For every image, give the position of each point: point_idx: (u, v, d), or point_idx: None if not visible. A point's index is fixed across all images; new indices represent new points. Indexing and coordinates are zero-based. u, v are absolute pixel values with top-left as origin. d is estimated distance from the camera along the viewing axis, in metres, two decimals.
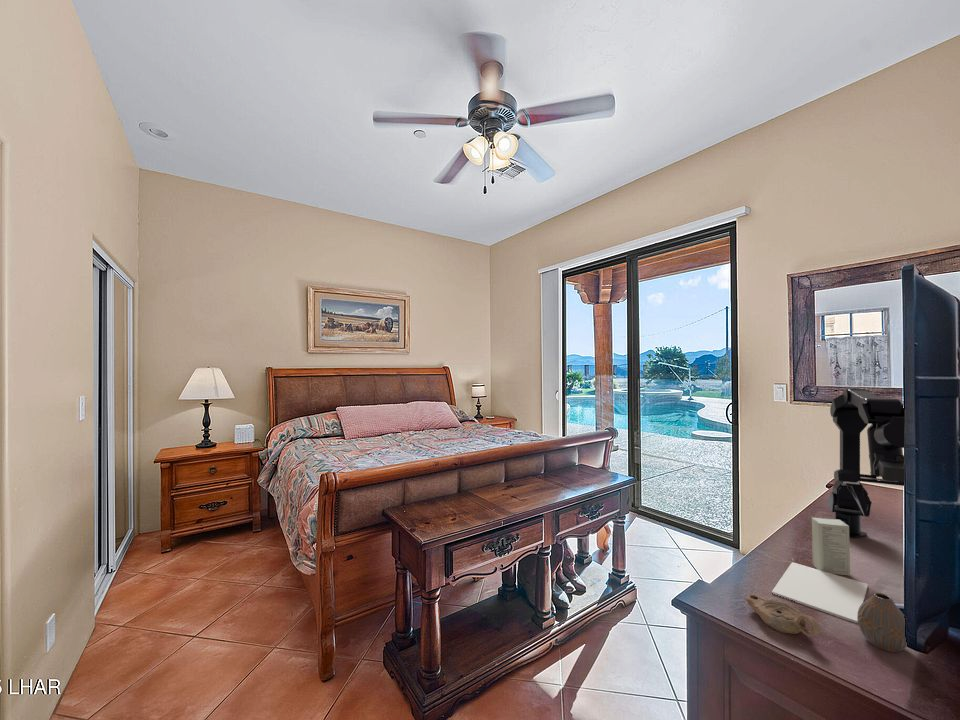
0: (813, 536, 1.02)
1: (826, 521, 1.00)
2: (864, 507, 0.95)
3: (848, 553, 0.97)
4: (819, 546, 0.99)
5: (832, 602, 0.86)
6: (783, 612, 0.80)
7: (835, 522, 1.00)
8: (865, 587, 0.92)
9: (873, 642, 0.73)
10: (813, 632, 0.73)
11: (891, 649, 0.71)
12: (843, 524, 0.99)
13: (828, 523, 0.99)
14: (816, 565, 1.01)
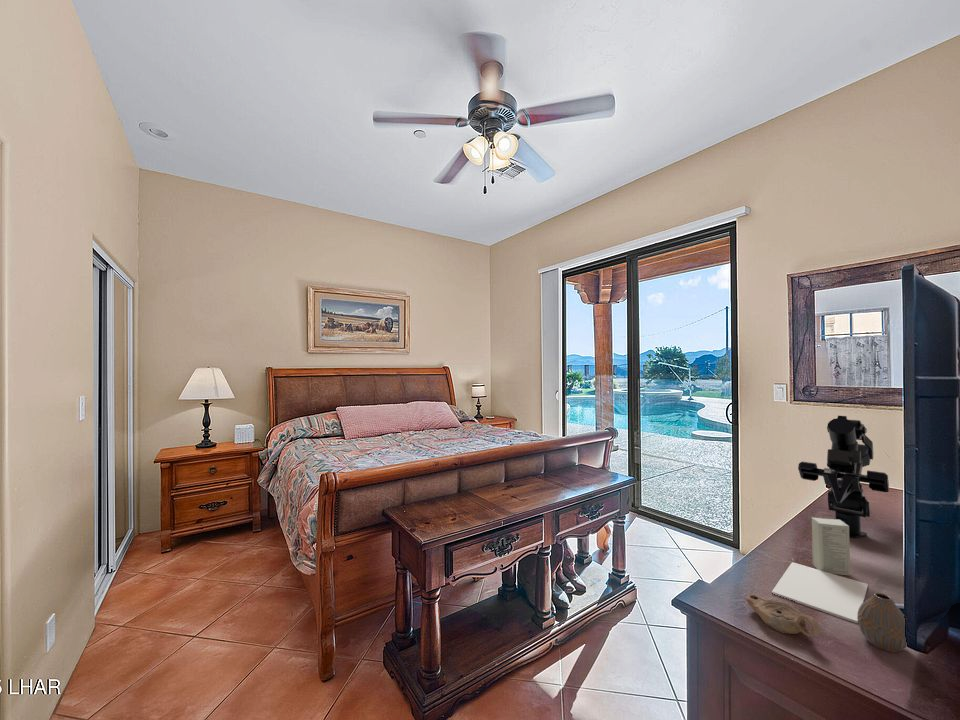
0: (813, 536, 1.02)
1: (826, 521, 1.00)
2: (836, 494, 1.11)
3: (848, 553, 0.97)
4: (819, 546, 0.99)
5: (832, 602, 0.86)
6: (783, 612, 0.80)
7: (835, 522, 1.00)
8: (865, 587, 0.92)
9: (873, 642, 0.73)
10: (813, 632, 0.73)
11: (891, 649, 0.71)
12: (843, 524, 0.99)
13: (828, 523, 0.99)
14: (816, 565, 1.01)
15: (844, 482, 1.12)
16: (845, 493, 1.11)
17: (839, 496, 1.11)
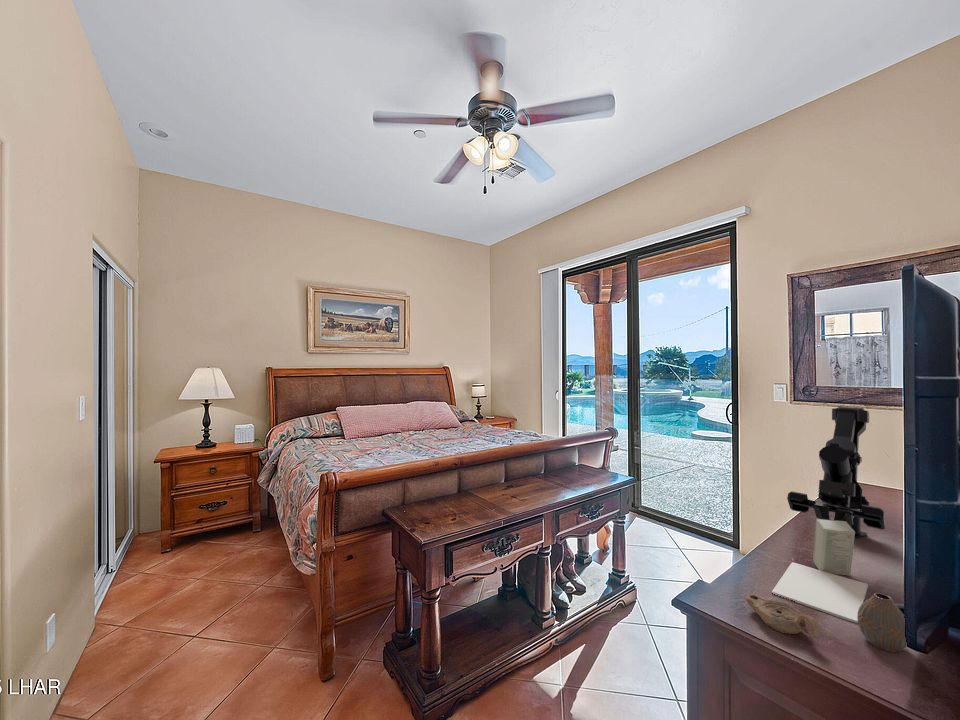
0: (817, 537, 1.00)
1: (831, 526, 0.98)
2: None
3: (851, 556, 0.96)
4: (822, 549, 0.98)
5: (832, 602, 0.86)
6: (783, 612, 0.80)
7: (841, 527, 0.97)
8: (865, 587, 0.92)
9: (873, 642, 0.73)
10: (813, 632, 0.73)
11: (891, 649, 0.71)
12: (849, 529, 0.96)
13: (833, 528, 0.97)
14: (817, 564, 1.01)
15: (836, 516, 1.02)
16: None
17: None
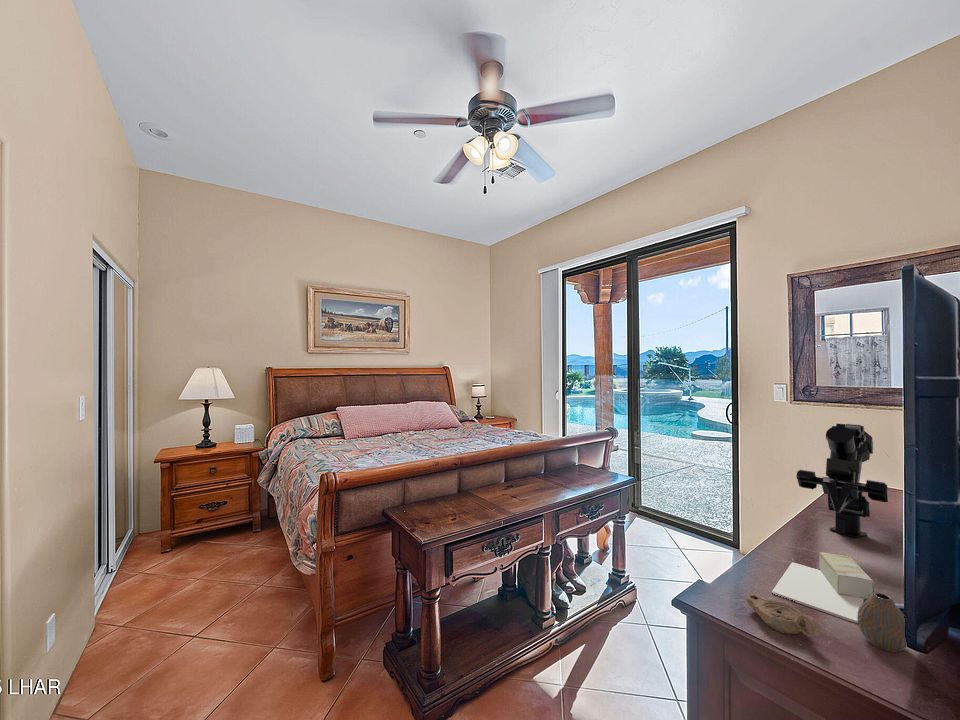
0: (830, 570, 0.93)
1: (850, 588, 0.88)
2: (835, 503, 1.10)
3: None
4: None
5: (832, 602, 0.86)
6: (783, 612, 0.80)
7: (861, 591, 0.87)
8: None
9: (873, 642, 0.73)
10: (813, 632, 0.73)
11: (891, 649, 0.71)
12: (869, 595, 0.87)
13: (850, 593, 0.88)
14: (820, 563, 0.99)
15: (843, 491, 1.10)
16: (844, 503, 1.09)
17: (838, 506, 1.09)
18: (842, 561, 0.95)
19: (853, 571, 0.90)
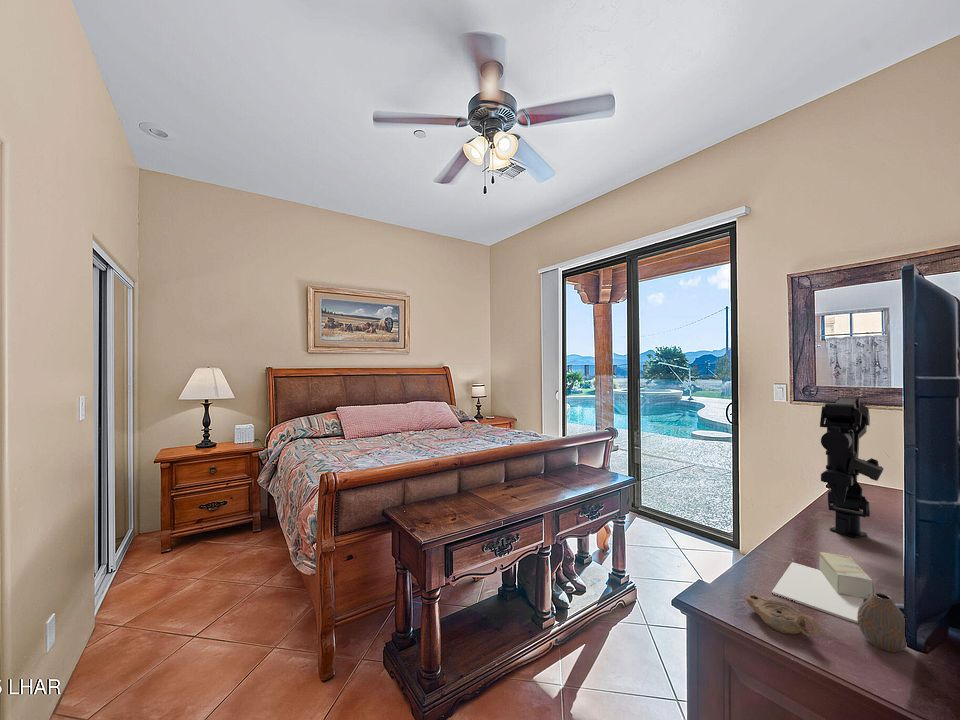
0: (830, 570, 0.93)
1: (850, 588, 0.88)
2: (845, 498, 1.12)
3: None
4: None
5: (832, 602, 0.86)
6: (783, 612, 0.80)
7: (861, 591, 0.87)
8: None
9: (873, 642, 0.73)
10: (813, 632, 0.73)
11: (891, 649, 0.71)
12: (869, 595, 0.87)
13: (850, 593, 0.88)
14: (820, 563, 0.99)
15: None
16: None
17: (844, 499, 1.13)
18: (842, 561, 0.95)
19: (853, 571, 0.90)
